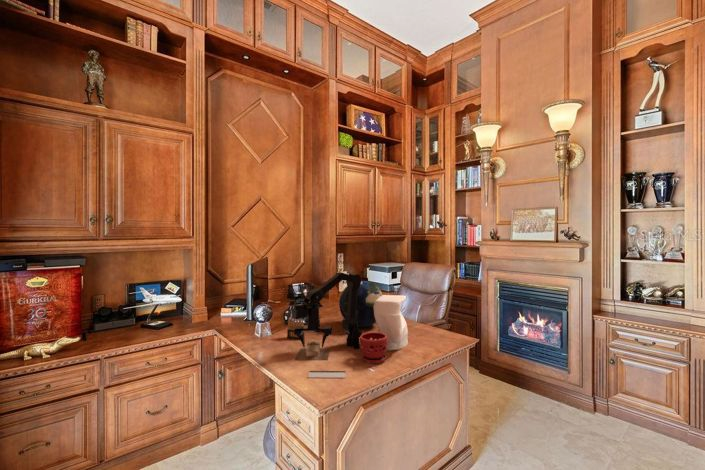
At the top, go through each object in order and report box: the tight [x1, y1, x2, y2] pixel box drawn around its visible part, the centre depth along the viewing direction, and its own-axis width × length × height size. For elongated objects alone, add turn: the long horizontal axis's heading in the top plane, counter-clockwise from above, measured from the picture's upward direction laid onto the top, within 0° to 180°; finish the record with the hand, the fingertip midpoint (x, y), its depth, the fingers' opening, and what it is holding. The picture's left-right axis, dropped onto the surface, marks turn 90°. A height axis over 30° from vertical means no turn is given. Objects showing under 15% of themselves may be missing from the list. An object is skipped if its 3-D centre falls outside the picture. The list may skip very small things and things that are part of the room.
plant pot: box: [359, 331, 387, 364], centre depth 160 cm, size 13×13×12 cm
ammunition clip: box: [286, 317, 305, 341], centre depth 192 cm, size 11×2×12 cm, turn 69°
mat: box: [307, 370, 347, 379], centre depth 147 cm, size 16×14×1 cm
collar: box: [305, 341, 321, 356], centre depth 165 cm, size 6×6×5 cm
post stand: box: [294, 341, 331, 361], centre depth 165 cm, size 16×16×7 cm
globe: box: [338, 280, 384, 328], centre depth 217 cm, size 30×30×30 cm
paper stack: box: [374, 294, 409, 351], centre depth 179 cm, size 21×27×26 cm
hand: (313, 347), depth 165 cm, fingers open, 9 cm apart
